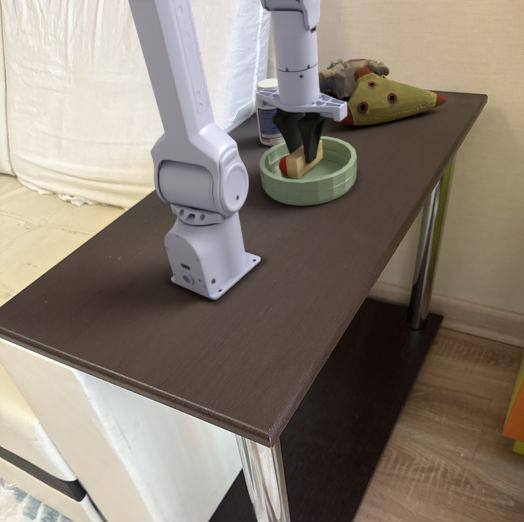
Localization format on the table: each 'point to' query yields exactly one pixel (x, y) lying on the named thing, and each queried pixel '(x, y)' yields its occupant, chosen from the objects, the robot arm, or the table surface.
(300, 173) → the block
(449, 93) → the table surface
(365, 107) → the ocarina
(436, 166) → the table surface
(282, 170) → the ball
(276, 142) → the pill bottle
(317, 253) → the table surface
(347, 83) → the figurine
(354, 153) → the bowl
